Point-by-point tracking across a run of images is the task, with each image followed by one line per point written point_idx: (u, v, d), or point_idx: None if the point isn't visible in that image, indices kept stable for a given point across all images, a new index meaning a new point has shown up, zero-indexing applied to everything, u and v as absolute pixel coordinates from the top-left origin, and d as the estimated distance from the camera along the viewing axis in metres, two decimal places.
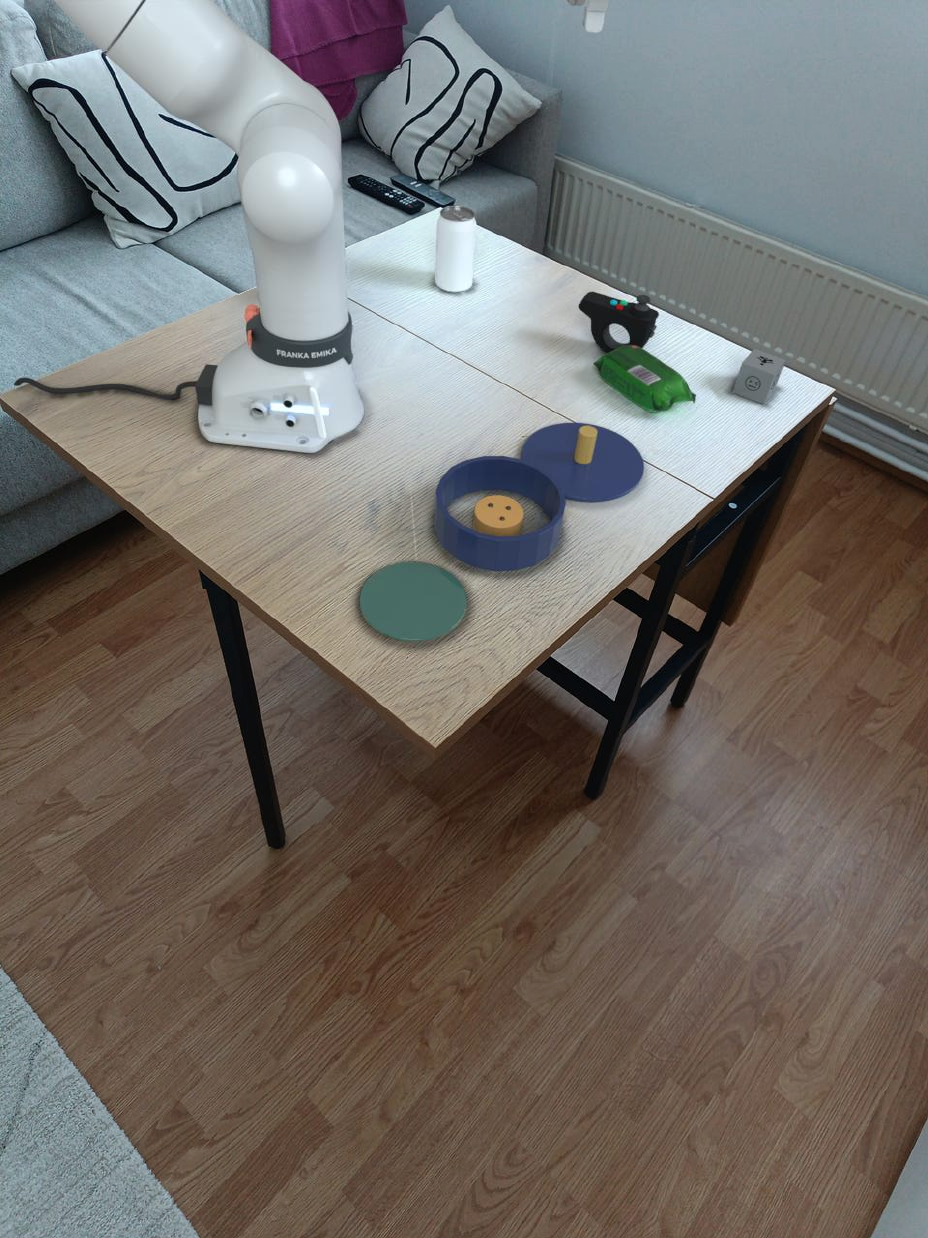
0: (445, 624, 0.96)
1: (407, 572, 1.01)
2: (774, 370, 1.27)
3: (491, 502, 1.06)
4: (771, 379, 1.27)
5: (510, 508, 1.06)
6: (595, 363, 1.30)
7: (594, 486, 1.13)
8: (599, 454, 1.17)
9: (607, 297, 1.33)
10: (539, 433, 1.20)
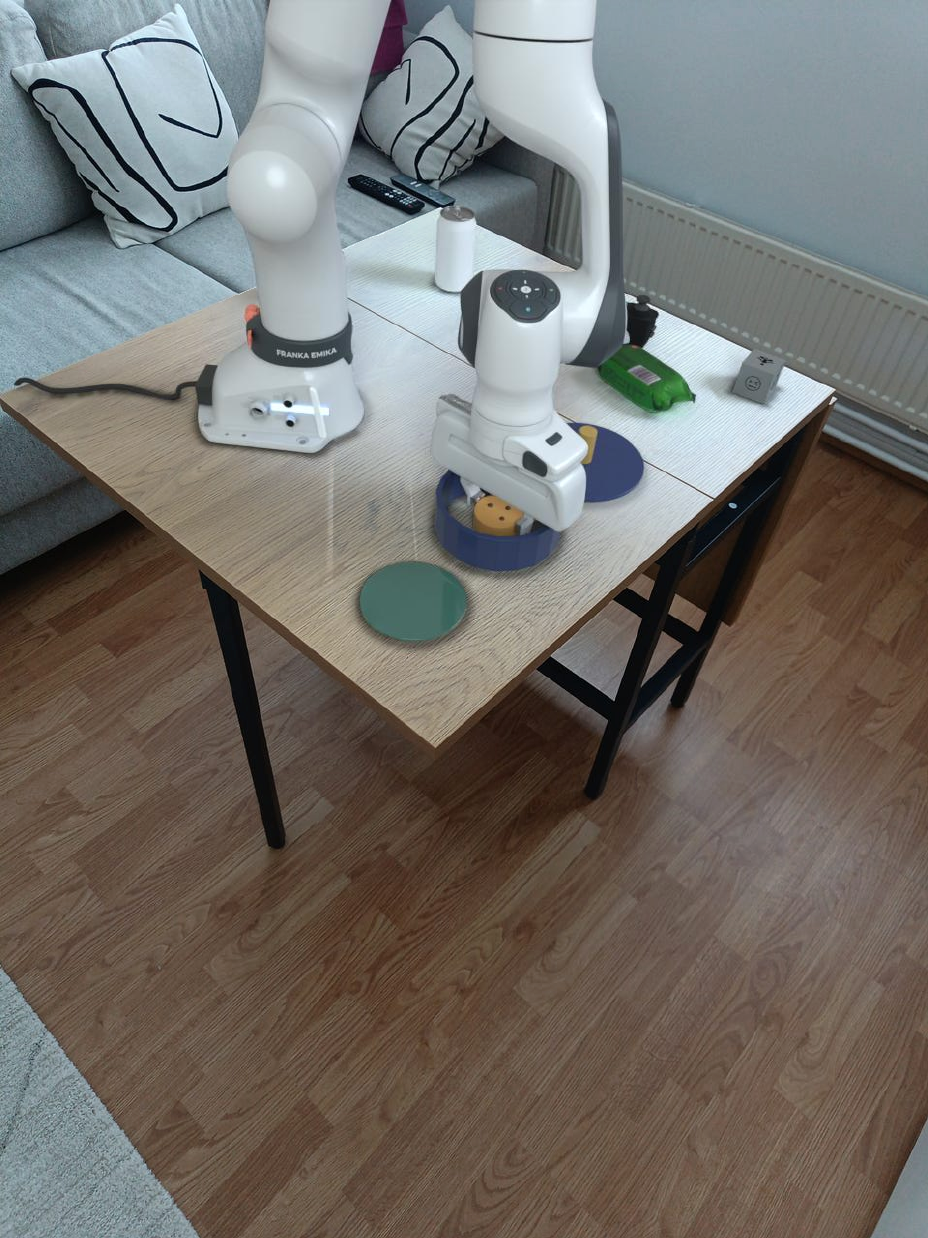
0: (445, 624, 0.96)
1: (407, 572, 1.01)
2: (774, 370, 1.27)
3: (491, 502, 1.06)
4: (771, 379, 1.27)
5: (510, 508, 1.06)
6: None
7: (594, 486, 1.13)
8: (599, 454, 1.17)
9: None
10: None
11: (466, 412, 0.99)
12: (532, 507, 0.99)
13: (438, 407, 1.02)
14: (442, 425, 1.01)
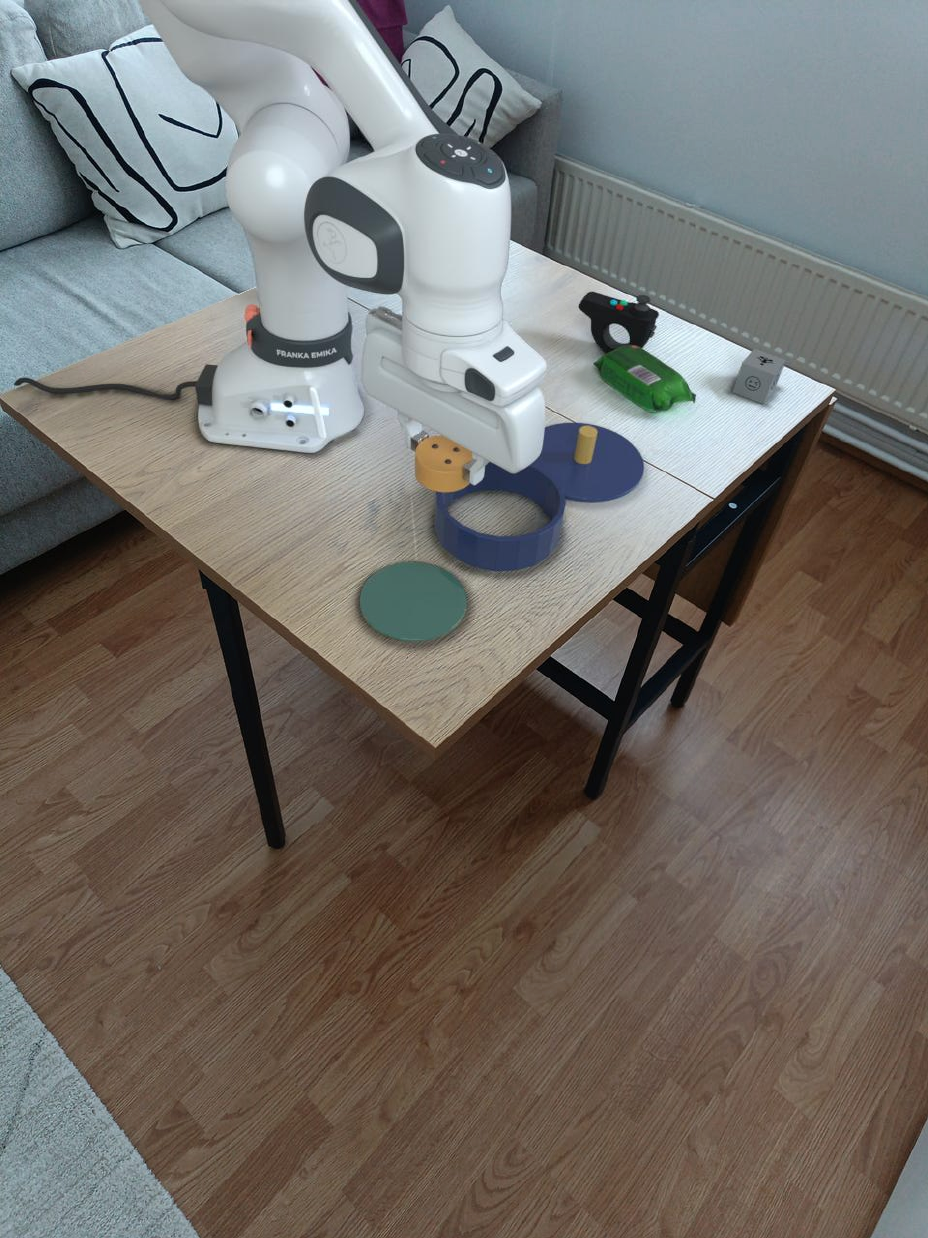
0: (445, 624, 0.96)
1: (407, 572, 1.01)
2: (774, 370, 1.27)
3: (436, 443, 0.88)
4: (771, 379, 1.27)
5: (458, 450, 0.88)
6: (595, 363, 1.30)
7: (594, 486, 1.13)
8: (599, 454, 1.17)
9: (607, 297, 1.33)
10: None
11: (400, 328, 0.81)
12: (481, 443, 0.80)
13: (367, 325, 0.83)
14: (372, 346, 0.83)
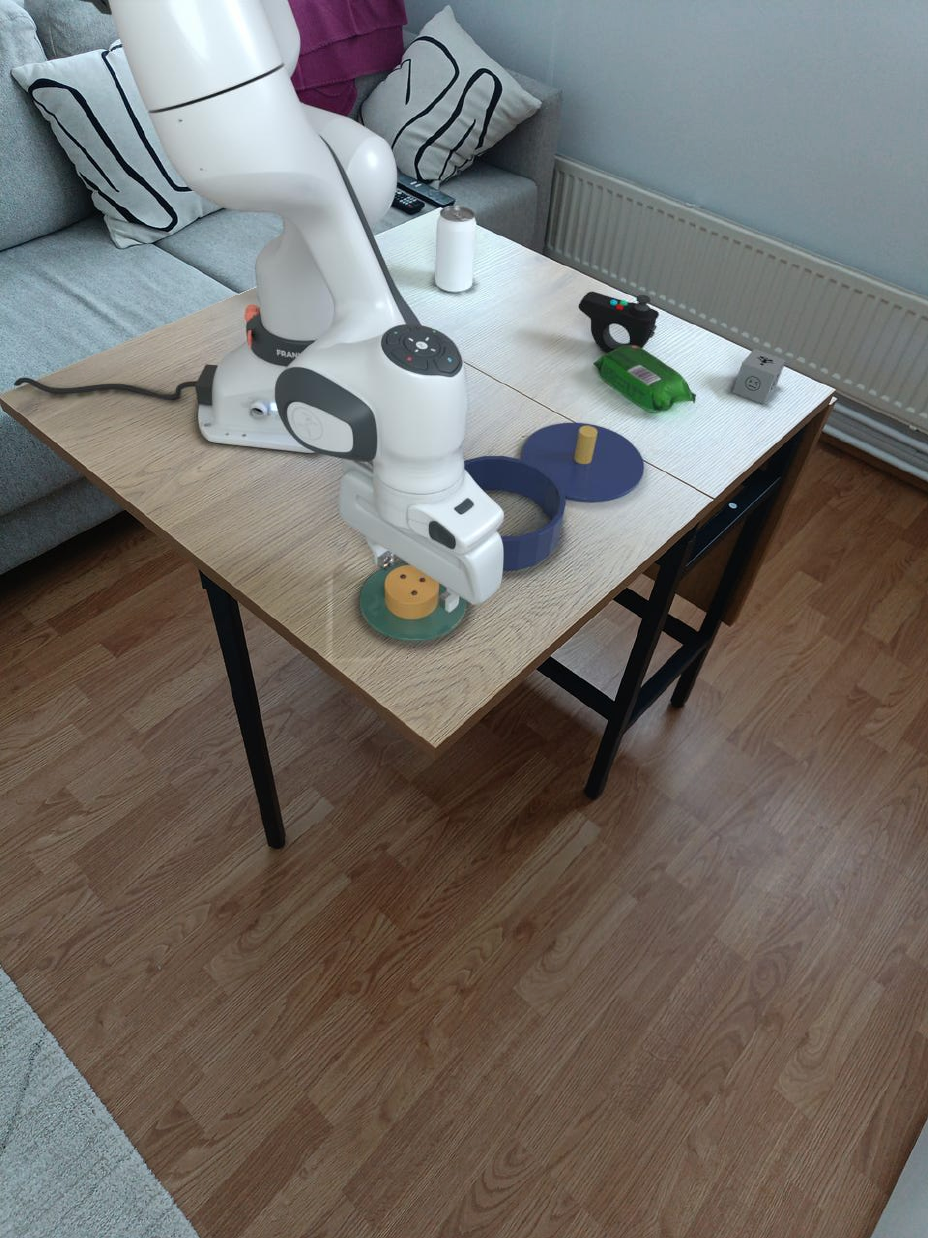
0: (445, 624, 0.96)
1: None
2: (774, 370, 1.27)
3: (404, 573, 0.97)
4: (771, 379, 1.27)
5: (424, 580, 0.96)
6: (595, 363, 1.30)
7: (594, 486, 1.13)
8: (599, 454, 1.17)
9: (607, 297, 1.33)
10: (539, 433, 1.20)
11: (372, 472, 0.89)
12: (446, 577, 0.89)
13: (344, 465, 0.92)
14: (348, 485, 0.91)
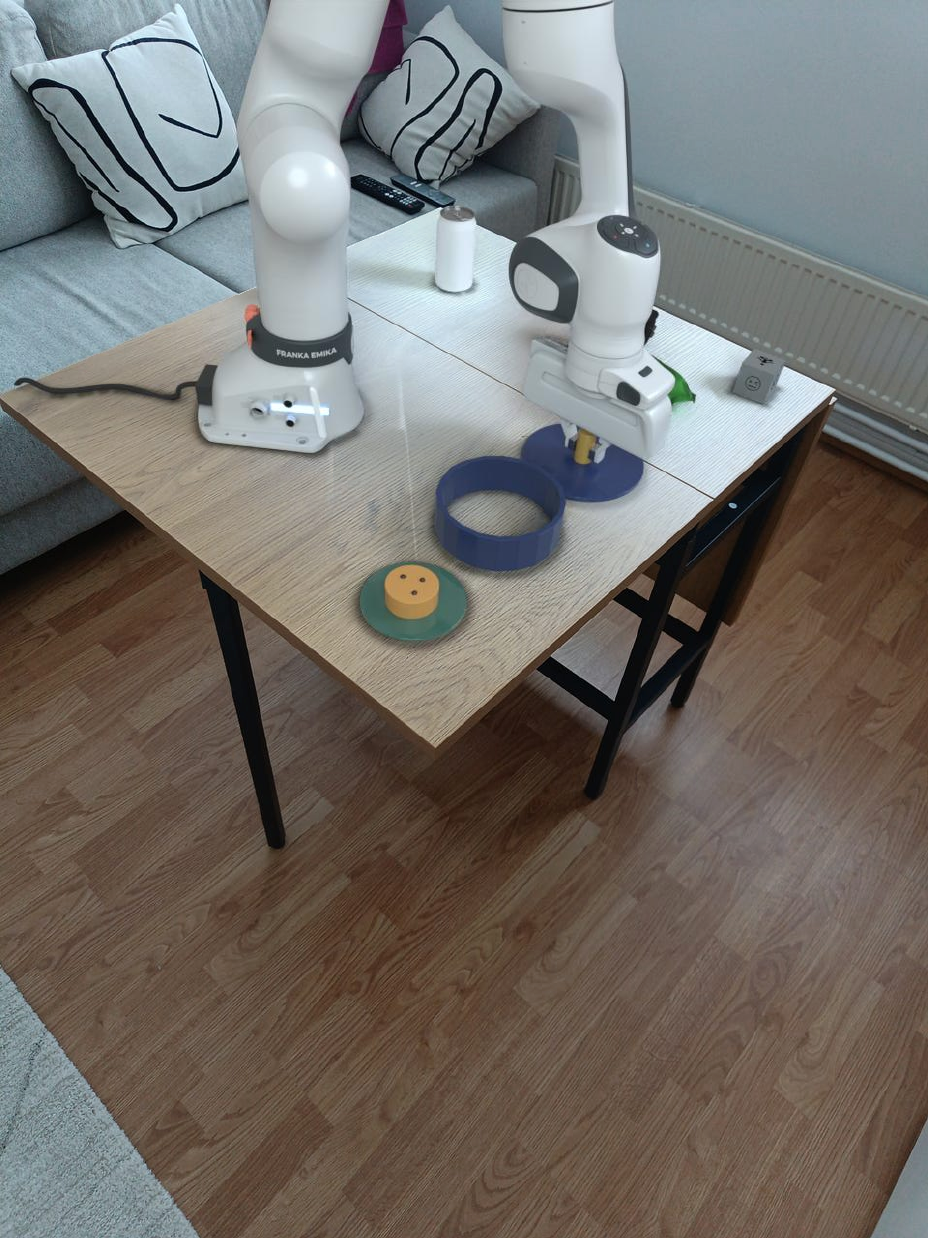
0: (445, 624, 0.96)
1: None
2: (774, 370, 1.27)
3: (404, 573, 0.97)
4: (771, 379, 1.27)
5: (424, 580, 0.96)
6: None
7: (594, 486, 1.13)
8: None
9: None
10: (539, 433, 1.20)
11: (560, 350, 1.08)
12: (621, 437, 1.08)
13: (532, 347, 1.11)
14: (537, 363, 1.10)
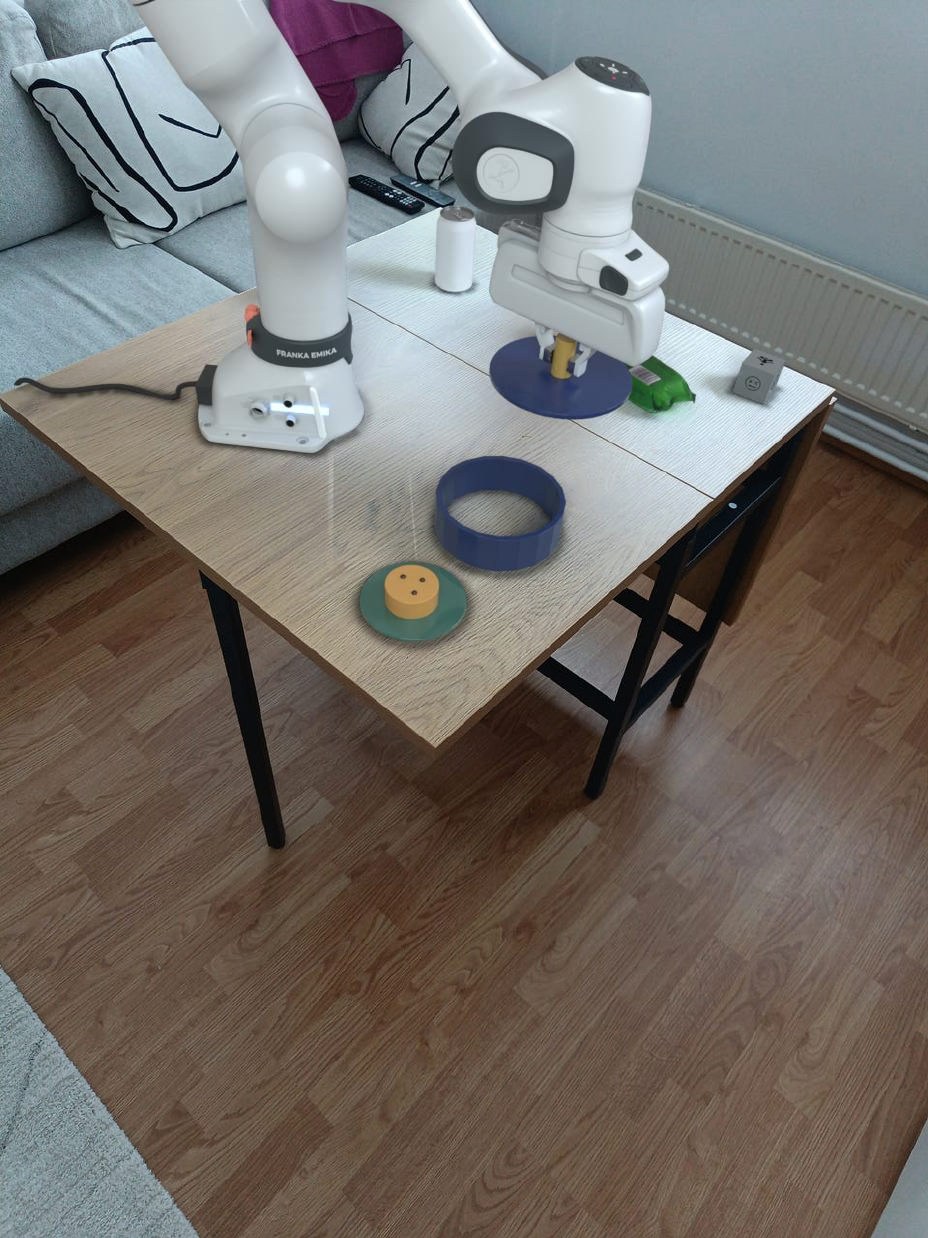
0: (445, 624, 0.96)
1: None
2: (774, 370, 1.27)
3: (404, 573, 0.97)
4: (771, 379, 1.27)
5: (424, 580, 0.96)
6: None
7: (574, 402, 0.96)
8: None
9: None
10: (510, 346, 1.03)
11: (532, 237, 0.91)
12: (605, 339, 0.91)
13: (500, 237, 0.94)
14: (505, 254, 0.93)
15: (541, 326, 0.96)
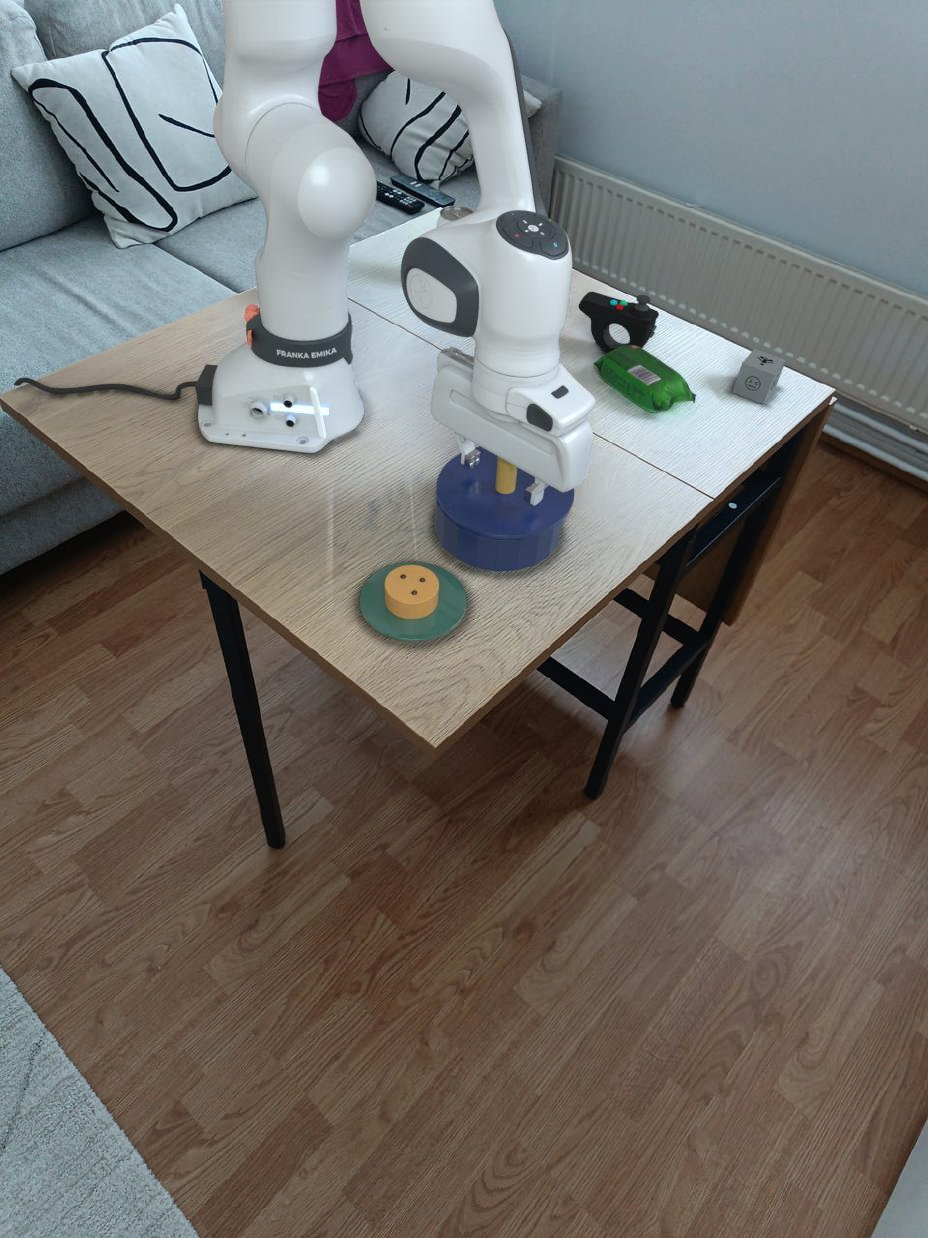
0: (445, 624, 0.96)
1: None
2: (774, 370, 1.27)
3: (404, 573, 0.97)
4: (771, 379, 1.27)
5: (424, 580, 0.96)
6: (595, 363, 1.30)
7: (516, 520, 1.00)
8: (524, 481, 1.04)
9: (607, 297, 1.33)
10: (458, 458, 1.06)
11: (468, 366, 0.94)
12: (536, 466, 0.94)
13: (439, 362, 0.97)
14: (443, 380, 0.96)
15: (460, 435, 1.00)
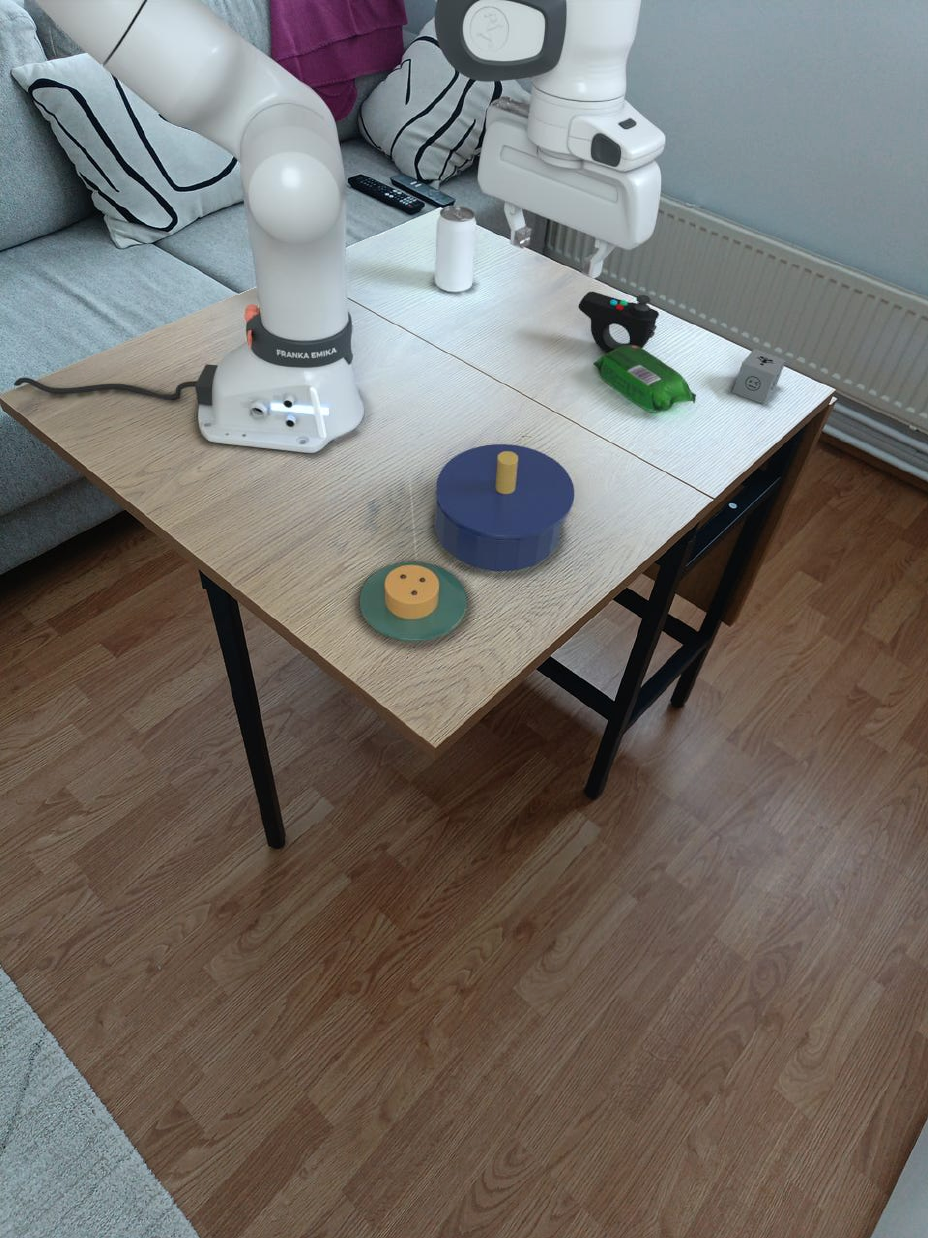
0: (445, 624, 0.96)
1: None
2: (774, 370, 1.27)
3: (404, 573, 0.97)
4: (771, 379, 1.27)
5: (424, 580, 0.96)
6: (595, 363, 1.30)
7: (516, 520, 1.00)
8: (524, 481, 1.04)
9: (607, 297, 1.33)
10: (458, 458, 1.06)
11: (522, 114, 0.86)
12: (598, 221, 0.86)
13: (488, 117, 0.89)
14: (494, 135, 0.88)
15: (511, 206, 0.92)
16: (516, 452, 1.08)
